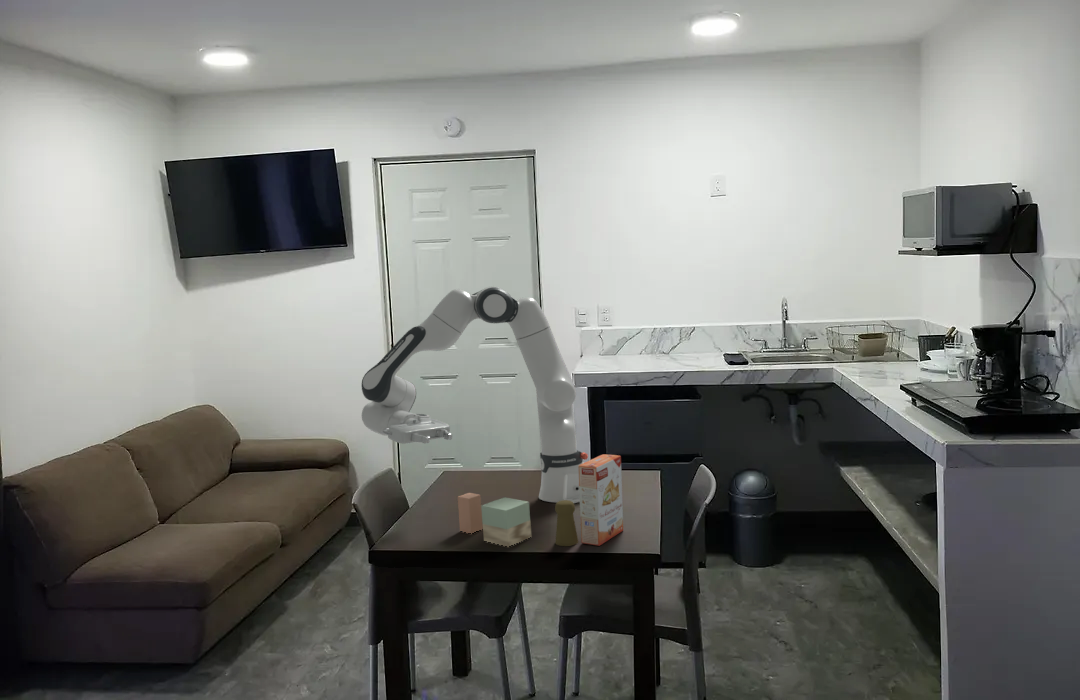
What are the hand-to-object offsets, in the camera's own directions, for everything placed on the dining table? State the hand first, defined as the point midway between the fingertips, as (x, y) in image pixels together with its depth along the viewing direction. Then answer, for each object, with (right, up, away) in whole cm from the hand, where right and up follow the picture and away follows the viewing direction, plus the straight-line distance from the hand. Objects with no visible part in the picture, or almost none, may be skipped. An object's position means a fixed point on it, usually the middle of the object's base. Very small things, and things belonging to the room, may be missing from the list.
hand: (439, 438), depth 240 cm
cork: (+36, -25, -20) cm, 48 cm away
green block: (+20, -21, -15) cm, 32 cm away
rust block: (+10, -25, -6) cm, 27 cm away
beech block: (+20, -26, -15) cm, 36 cm away
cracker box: (+45, -24, -18) cm, 55 cm away
